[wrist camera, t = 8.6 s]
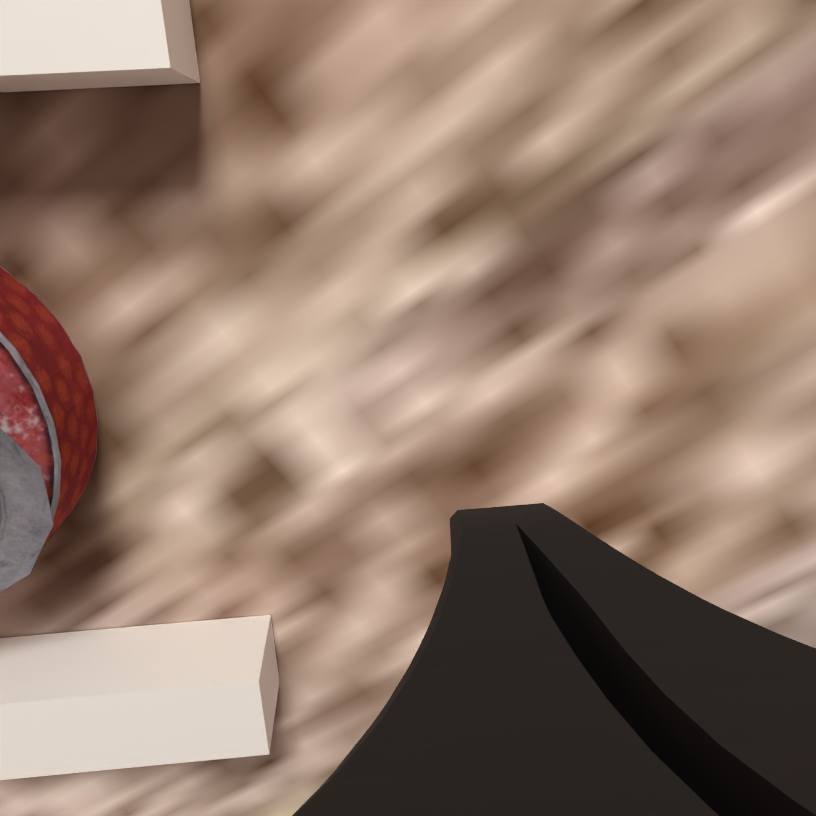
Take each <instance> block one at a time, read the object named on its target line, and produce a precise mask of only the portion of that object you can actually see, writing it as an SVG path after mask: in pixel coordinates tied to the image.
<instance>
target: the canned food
mask: <svg viewBox="0 0 816 816" xmlns="http://www.w3.org/2000/svg"><path fill="white" fill-rule="evenodd" d="M97 439H98V417H97V410H96V404H95V398H94V392H93V388H92V385H91V382H90V380H89V377H88V374H87V372H86V369H85V366H84V364H83V361H82V358H81V356H80V354H79V352H78V351H77V349H76V347H75V346H74V344H73V343H72V341H71V339H70V338H69V336H68V334H67V333H66V331H65V329H64V328H63V326H62V325H61V323H60V322H59V321H58V320H57V319H56V317H55V316H54V315H53V314H52V313H51V312H50V311H49V309H48V308H47V307H46V306H45V305H44V304H43V303H42V302H41V300H40V299H39V298H38V297H37V296H36V295H35V294H34V293H33V292H32V291H31V290H29V289H28V288H27V287H26V286H24V285H23V284H22V283H21V282H19V281H18V280H17V279H16V278H14V277H13V276H12V275H11V274H10V273H8V272H7V271H6V270H5V269H3V268H2V267H0V593H1V592H3V591H4V590H6V589H7V588H8V587H10V586H11V585H13V584H14V583H16V582H18V581H19V580H21V579H23V578H24V577H26V576H27V575H29V574H30V573H31V571H32V569H33V566H34V564H35V562H36V560H37V557H38V555H39V553H40V551H41V549H42V547H43V546H44V545H45V544H46V543H47V541H48V540H49V539H50V538H51V536H52V535H53V534H54V533H55V531H56V530H57V529H58V528H59V526H60V525H61V524H62V523H63V521H64V520H65V519H66V518H67V517H68V515H69V514H70V513H71V512H72V511H73V510H74V508H75V506H76V504H77V503H78V501H79V499H80V497H81V495H82V494H83V492H84V490H85V488H86V487H87V485H88V482H89V479H90V475H91V472H92V469H93V465H94V462H95V458H96V455H97Z"/></svg>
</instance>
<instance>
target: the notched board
mask: <svg viewBox="0 0 816 816" xmlns="http://www.w3.org/2000/svg"><path fill="white" fill-rule="evenodd" d="M190 83H200V77H199V70H198V62H197V55H196V47H195V40H194V32H193V25H192V17H191V9H190V2H189V0H0V93H1V92H22V91H43V90H64V89H85V88H106V87H127V86H148V85H169V84H190ZM278 689H279V674H278V666H277V659H276V651H275V644H274V636H273V629H272V621H271V615H263V616H252V617H240V618H228V619H217V620H205V621H193V622H182V623H170V624H158V625H147V626H135V627H123V628H112V629H100V630H88V631H76V632H65V633H53V634H41V635H30V636H18V637H6V638H0V780H7V779H17V778H28V777H38V776H49V775H59V774H70V773H80V772H91V771H101V770H112V769H122V768H133V767H143V766H153V765H164V764H174V763H185V762H195V761H206V760H216V759H227V758H237V757H248V756H258V755H269V753H270V745H271V738H272V731H273V724H274V717H275V710H276V703H277V696H278Z"/></svg>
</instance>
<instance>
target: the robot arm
mask: <svg viewBox="0 0 816 816" xmlns="http://www.w3.org/2000/svg"><path fill="white" fill-rule="evenodd" d="M450 531H451V559H450V563H449V567H448V571H447V576H446V580H445V583H444V587H443V590H442V593H441V595H440V598H439V601H438V604H437V606H436V609H435V612H434V614H433V617H432V620H431V622H430V625H429V627H428V629H427V632H426V634H425V636H424V638H423V640H422V642H421V644H420V647H419V649H418V650H417V652H416V654H415V656H414V658H413V660H412V662H411V664H410V666H409V668H408V669H407V671H406V673H405V674H404V676H403V678H402V679H401V681H400V683H399V684H398V686H397V687H396V689H395V691H394V692H393V694H392V696H391V697H390V699H389V701H388V702H387V704H386V705H385V707H384V708H383V709H382V711H381V712H380V714H379V715H378V717H377V718H376V720H375V721H374V722H373V724H372V725H371V726H370V728H369V729H368V730H367V731H366V733H365V734H364V735H363V736H362V738H361V739H360V740H359V741H358V743H357V744H356V745H355V746H354V748H353V749H352V750H351V751H350V753H349V754H348V755H347V756H346V758H345V759H344V760H343V761H342V763H341V764H340V765H339V766H338V768H337V769H336V770H335V771H334V773H333V774H332V775H331V776H330V777H329V778H328V779H327V780H326V782H325V783H324V784H323V785H322V786H321V787H320V788H319V789H318V790H317V791H316V792H315V793H314V794H313V795H312V796H311V797H310V798H309V799H308V800H307V801H306V802H305V803H304V804H303V805H302V806H301V807H300V808H299V809H298V810H297V811H296V812H295V813H294V814H293V815H292V816H816V648H813V647H810V646H808V645H805V644H803V643H800V642H797V641H795V640H792V639H790V638H787V637H785V636H782V635H780V634H777V633H775V632H773V631H771V630H768V629H766V628H764V627H762V626H759V625H757V624H755V623H753V622H750V621H748V620H746V619H744V618H741V617H739V616H737V615H735V614H732V613H730V612H728V611H726V610H724V609H721V608H719V607H717V606H715V605H713V604H711V603H709V602H707V601H705V600H703V599H701V598H699V597H697V596H696V595H694V594H692V593H690V592H688V591H686V590H685V589H683V588H681V587H679V586H677V585H675V584H673V583H672V582H670V581H668V580H666V579H664V578H662V577H661V576H659V575H657V574H655V573H654V572H652V571H650V570H649V569H647V568H645V567H644V566H642V565H640V564H638V563H637V562H635V561H634V560H632V559H630V558H629V557H627V556H625V555H624V554H622V553H621V552H619V551H617V550H616V549H614V548H613V547H611V546H610V545H608V544H606V543H605V542H603V541H602V540H600V539H599V538H597V537H596V536H594V535H593V534H591V533H590V532H588V531H587V530H585V529H584V528H582V527H580V526H579V525H577V524H576V523H574V522H573V521H571V520H570V519H568V518H567V517H565V516H564V515H562V514H561V513H559V512H558V511H556V510H554V509H553V508H551V507H549V506H547V505H545V504H544V503H540V504H528V505H516V506H503V507H491V508H479V509H467V510H458V511H457V512H456V513H455V514H454V515H453V516H452V517H451V518H450Z"/></svg>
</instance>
